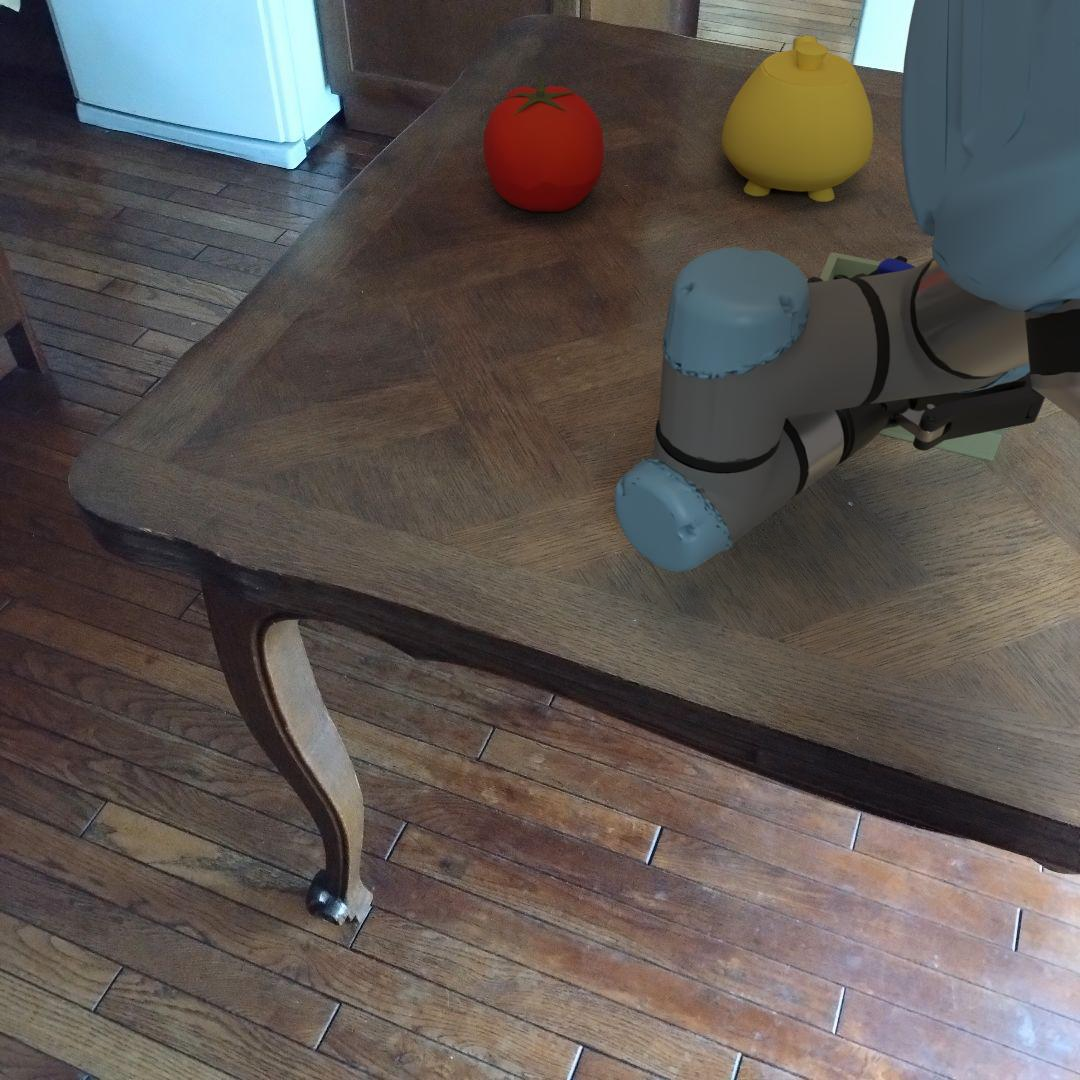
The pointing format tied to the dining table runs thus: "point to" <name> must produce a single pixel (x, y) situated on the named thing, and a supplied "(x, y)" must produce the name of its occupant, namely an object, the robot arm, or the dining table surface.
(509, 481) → the dining table surface
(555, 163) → the tomato
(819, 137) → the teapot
